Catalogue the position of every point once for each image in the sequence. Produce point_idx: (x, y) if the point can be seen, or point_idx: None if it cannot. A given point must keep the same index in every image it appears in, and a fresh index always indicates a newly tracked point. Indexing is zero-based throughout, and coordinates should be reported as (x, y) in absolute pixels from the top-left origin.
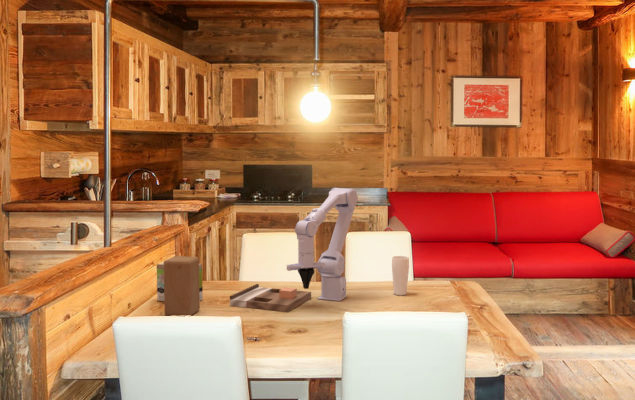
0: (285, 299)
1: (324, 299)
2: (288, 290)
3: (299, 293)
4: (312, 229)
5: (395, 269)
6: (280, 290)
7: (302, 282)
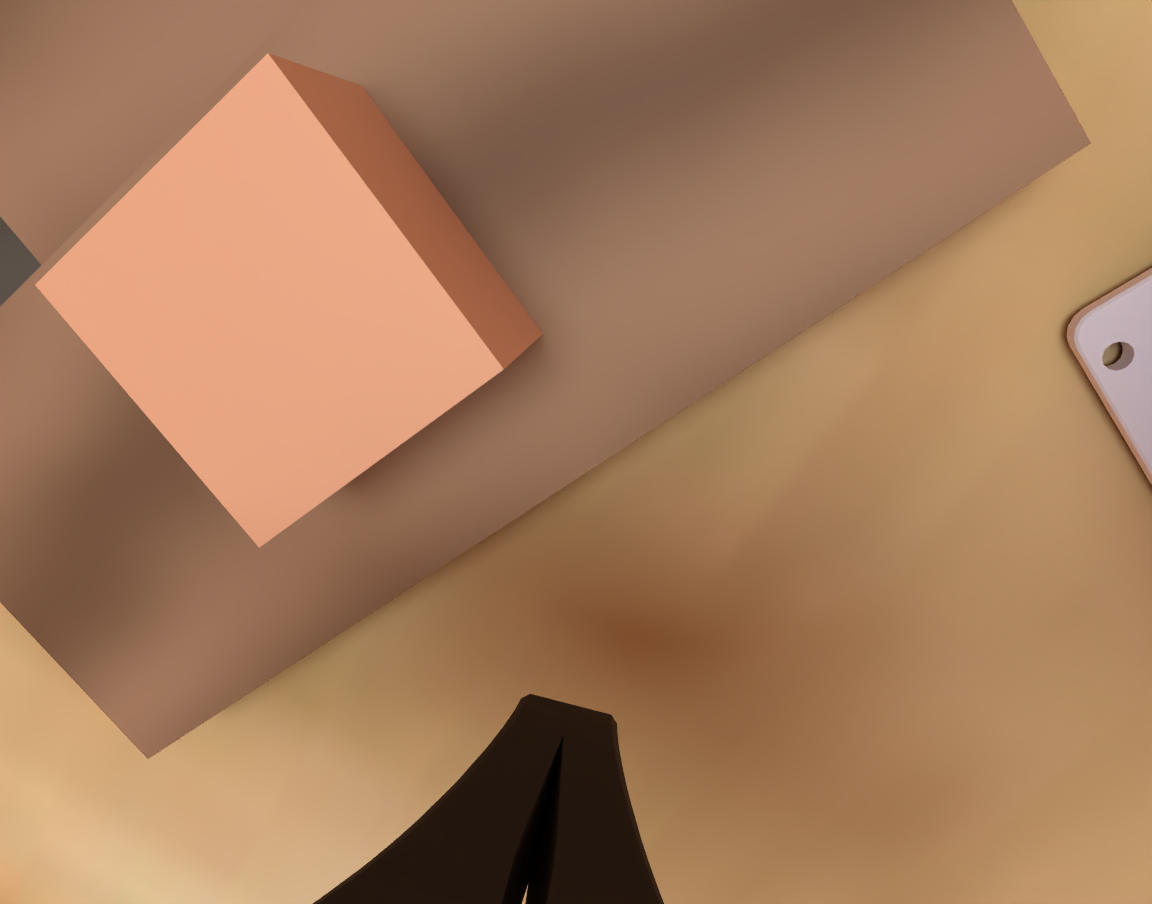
0: None
1: (1134, 448)
2: (233, 434)
3: (733, 138)
4: None
5: None
6: (63, 312)
7: (472, 767)
